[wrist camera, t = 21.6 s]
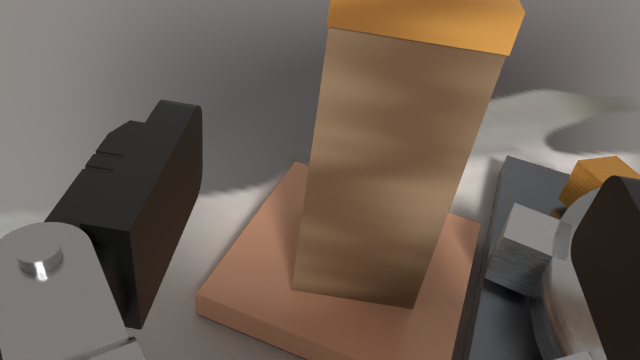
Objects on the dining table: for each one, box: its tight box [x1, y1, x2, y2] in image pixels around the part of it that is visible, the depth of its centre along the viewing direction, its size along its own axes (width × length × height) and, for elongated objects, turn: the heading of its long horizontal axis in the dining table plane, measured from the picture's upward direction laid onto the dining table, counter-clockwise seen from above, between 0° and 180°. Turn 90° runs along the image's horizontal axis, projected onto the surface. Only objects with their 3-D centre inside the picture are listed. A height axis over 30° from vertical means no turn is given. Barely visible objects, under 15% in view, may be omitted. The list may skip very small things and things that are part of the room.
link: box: [291, 0, 525, 309], centre depth 16 cm, size 4×4×10 cm
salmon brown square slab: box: [196, 161, 481, 360], centre depth 20 cm, size 8×8×1 cm
